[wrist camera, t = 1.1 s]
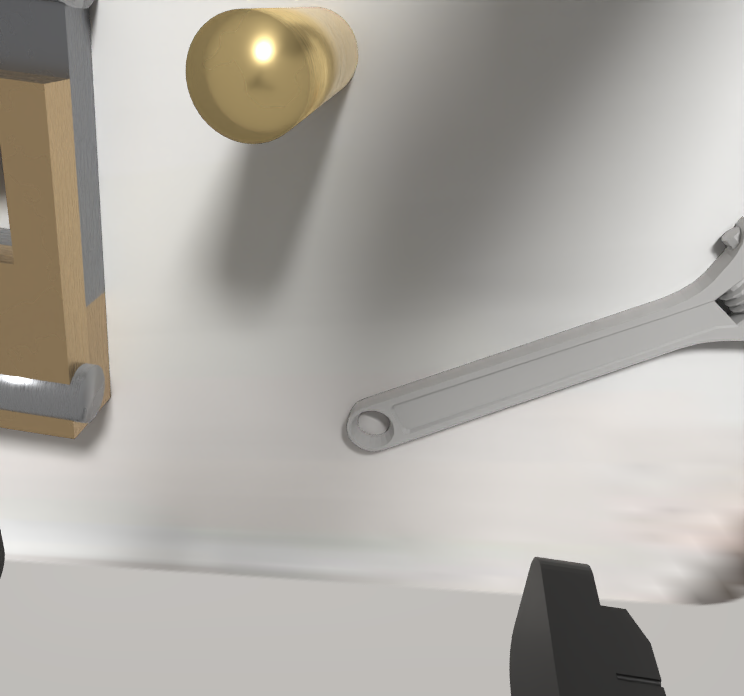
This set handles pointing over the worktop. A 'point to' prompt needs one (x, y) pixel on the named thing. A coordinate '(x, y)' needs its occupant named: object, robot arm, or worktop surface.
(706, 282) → the adjustable wrench
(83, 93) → the brass frame with rod
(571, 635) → the robot arm
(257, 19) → the pin
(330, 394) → the worktop surface
